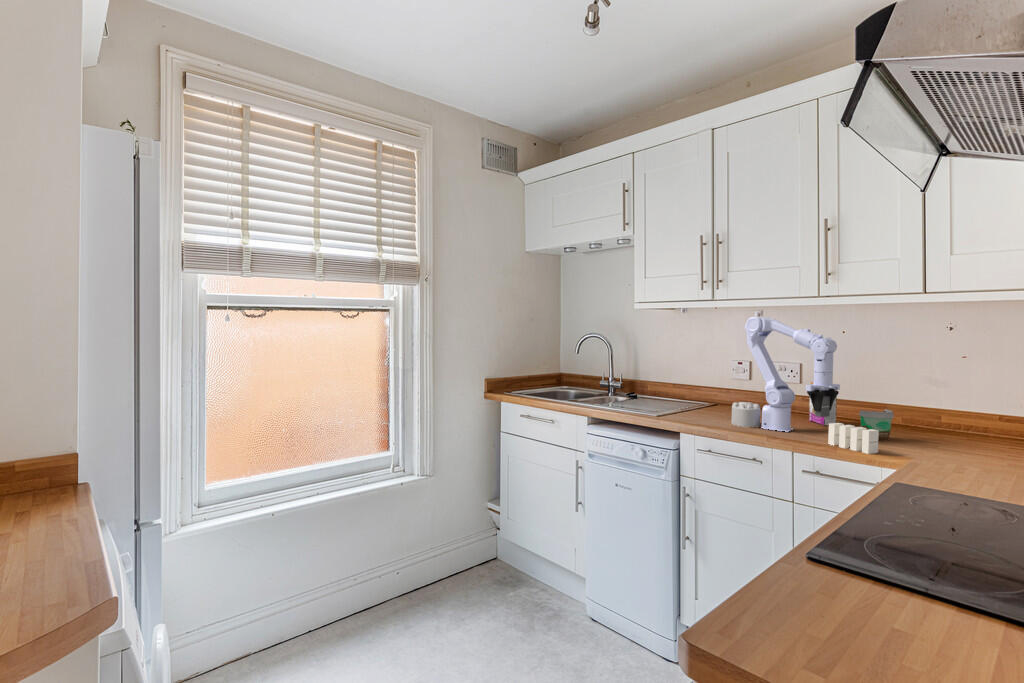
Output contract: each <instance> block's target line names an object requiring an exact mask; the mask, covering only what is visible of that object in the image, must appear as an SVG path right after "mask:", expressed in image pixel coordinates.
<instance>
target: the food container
mask: <svg viewBox="0 0 1024 683" xmlns="http://www.w3.org/2000/svg"><path fill="white" fill-rule="evenodd" d="M858 416H859V417H860V427H863V428H867V430H868V429H874V430H879V436H878V440H887V441H889V440H890V435H891V429H892V428H891V427H892V420H893V419H894V418H895V415H894V412H893V410H891V409H887V408H884V411H877V410H871V411H870V410H863V409H860V411H859V414H858ZM888 439H889V440H888Z"/></svg>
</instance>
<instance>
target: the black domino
mask: <svg viewBox="0 0 1024 683" xmlns="http://www.w3.org/2000/svg"><path fill="white" fill-rule="evenodd" d="M829 414H830V397H829V396H824V397H823V401H822V408H821V412H819V411H815V416H817V417H829Z"/></svg>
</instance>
